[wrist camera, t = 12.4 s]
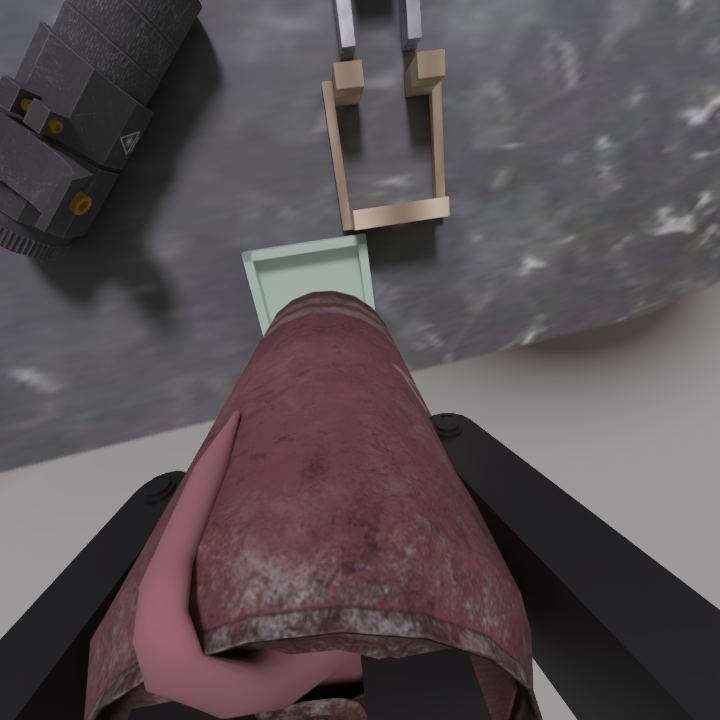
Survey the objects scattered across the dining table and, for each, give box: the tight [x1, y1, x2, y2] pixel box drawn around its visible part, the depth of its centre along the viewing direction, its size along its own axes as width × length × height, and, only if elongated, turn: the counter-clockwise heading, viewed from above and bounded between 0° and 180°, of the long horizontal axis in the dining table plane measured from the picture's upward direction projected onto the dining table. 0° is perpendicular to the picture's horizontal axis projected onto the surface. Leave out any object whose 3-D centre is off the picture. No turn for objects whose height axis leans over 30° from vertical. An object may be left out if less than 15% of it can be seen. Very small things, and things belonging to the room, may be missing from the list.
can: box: [84, 291, 542, 720], centre depth 10 cm, size 6×6×14 cm
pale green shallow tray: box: [241, 233, 375, 337], centre depth 33 cm, size 11×11×2 cm
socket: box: [322, 49, 449, 231], centre depth 28 cm, size 10×11×4 cm
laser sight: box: [0, 0, 202, 260], centre depth 22 cm, size 10×22×10 cm, turn 139°
